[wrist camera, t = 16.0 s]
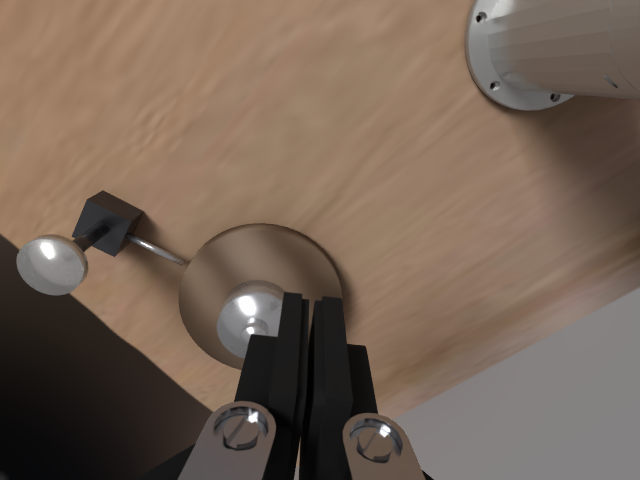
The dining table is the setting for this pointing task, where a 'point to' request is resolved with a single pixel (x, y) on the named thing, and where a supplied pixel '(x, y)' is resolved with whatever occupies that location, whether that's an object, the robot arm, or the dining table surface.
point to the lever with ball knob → (82, 245)
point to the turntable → (250, 277)
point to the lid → (249, 314)
